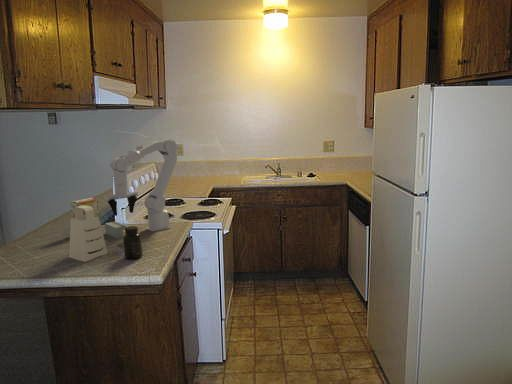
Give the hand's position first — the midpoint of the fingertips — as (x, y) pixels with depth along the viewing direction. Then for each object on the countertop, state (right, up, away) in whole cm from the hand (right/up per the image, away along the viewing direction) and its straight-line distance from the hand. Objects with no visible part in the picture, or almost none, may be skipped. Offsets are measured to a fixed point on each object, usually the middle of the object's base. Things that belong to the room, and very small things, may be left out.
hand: (123, 213), depth 197 cm
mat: (+1, -11, -2) cm, 11 cm away
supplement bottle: (+13, -16, -28) cm, 35 cm away
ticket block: (-4, -10, +2) cm, 11 cm away
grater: (-6, -16, -25) cm, 30 cm away
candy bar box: (-19, -10, +7) cm, 23 cm away
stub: (+7, -12, -10) cm, 17 cm away
